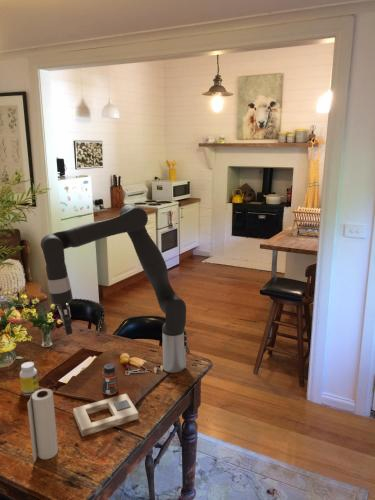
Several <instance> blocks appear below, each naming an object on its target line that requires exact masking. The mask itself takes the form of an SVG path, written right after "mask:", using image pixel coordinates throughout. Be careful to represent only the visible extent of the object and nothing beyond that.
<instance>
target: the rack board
mask: <svg viewBox="0 0 375 500" xmlns="http://www.w3.org/2000/svg"><path fill="white" fill-rule="evenodd" d="M107 409H108V410H109V412H110V414H111V415H112V416H109V417H105V418H102V419H99V420H95V421H92V422H91V419H90V417H89V415H91V414H93V413H97V412H100V411H103V410H107ZM72 411H73V412H72V413H73V417H74V419H75V421H76V424H77V427H78V430H79V432H80V434H81V436H82V437H85V436H88V435H92V434H95V433H98V432H101V431H105V430H108V429H110V428H114V427H116V426H120V425H123V424H126V423H130V422H133V421H136V420H139V418H140V417H139V412H138V410H137V408H136V407H135V405H134V404H133V402H132V400H131V399H130V397H129V395H128V394H127V393H123V394H120V395H115V396H113V397H109V398H105V399H102V400H99V401H95V402H91V403H88V404H84V405H81V406H77V407H74V408H73V409H72Z"/></svg>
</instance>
